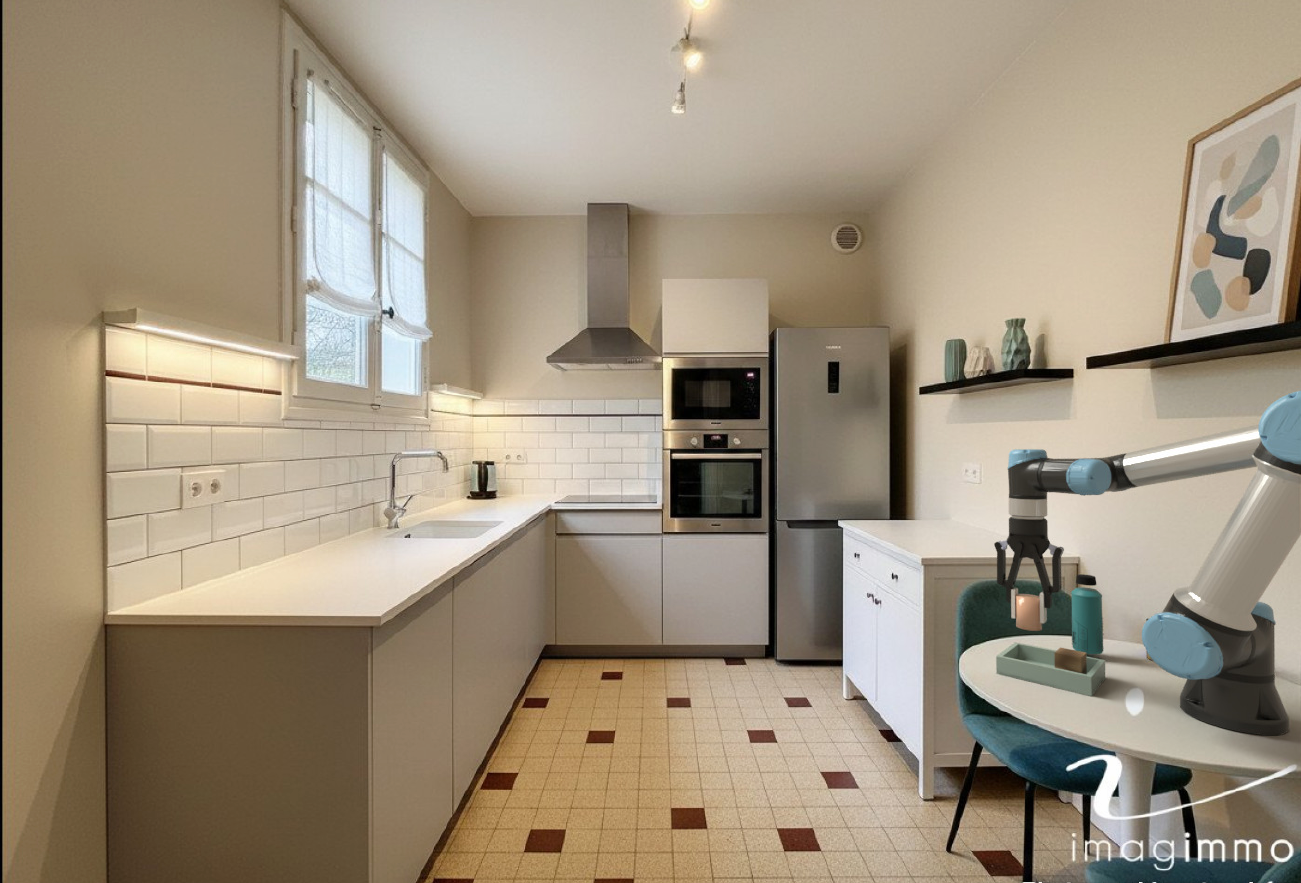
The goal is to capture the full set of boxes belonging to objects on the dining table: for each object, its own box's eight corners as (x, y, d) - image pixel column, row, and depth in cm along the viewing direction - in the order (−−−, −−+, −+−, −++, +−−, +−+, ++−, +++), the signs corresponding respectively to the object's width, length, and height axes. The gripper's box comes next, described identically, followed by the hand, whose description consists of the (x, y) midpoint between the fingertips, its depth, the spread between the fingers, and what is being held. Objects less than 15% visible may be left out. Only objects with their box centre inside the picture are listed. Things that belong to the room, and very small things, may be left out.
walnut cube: (1086, 674, 139) (1086, 652, 139) (1081, 681, 135) (1081, 658, 135) (1060, 669, 142) (1060, 647, 142) (1054, 675, 139) (1054, 652, 139)
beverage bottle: (1110, 660, 149) (1109, 578, 149) (1082, 661, 149) (1081, 578, 149) (1091, 651, 155) (1090, 572, 155) (1065, 651, 156) (1064, 572, 156)
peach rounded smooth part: (1044, 627, 140) (1044, 596, 140) (1038, 632, 137) (1038, 600, 137) (1019, 622, 144) (1019, 592, 144) (1013, 627, 140) (1013, 596, 140)
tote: (1105, 678, 138) (1105, 660, 138) (1091, 696, 128) (1091, 677, 128) (1015, 658, 151) (1015, 642, 151) (996, 673, 141) (996, 656, 141)
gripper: (1078, 518, 137) (1079, 623, 137) (989, 512, 149) (990, 609, 149) (1071, 521, 131) (1072, 631, 131) (979, 515, 144) (980, 615, 144)
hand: (1028, 619), depth 140 cm, fingers closed on peach rounded smooth part, 5 cm apart
